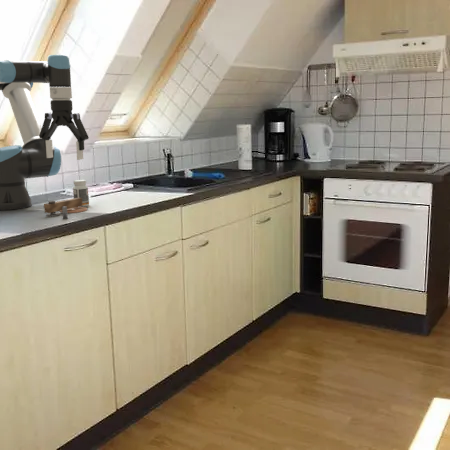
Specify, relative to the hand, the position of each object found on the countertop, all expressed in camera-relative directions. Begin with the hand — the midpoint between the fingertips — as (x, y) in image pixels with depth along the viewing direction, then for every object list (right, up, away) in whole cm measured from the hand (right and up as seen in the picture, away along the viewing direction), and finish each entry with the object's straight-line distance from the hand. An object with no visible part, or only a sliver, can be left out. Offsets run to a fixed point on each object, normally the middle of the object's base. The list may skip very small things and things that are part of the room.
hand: (64, 158), depth 216 cm
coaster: (+2, -19, +3) cm, 19 cm away
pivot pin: (-3, -21, -6) cm, 22 cm away
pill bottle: (+3, -17, +13) cm, 22 cm away
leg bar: (0, -19, -1) cm, 19 cm away
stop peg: (+3, -22, -12) cm, 26 cm away
